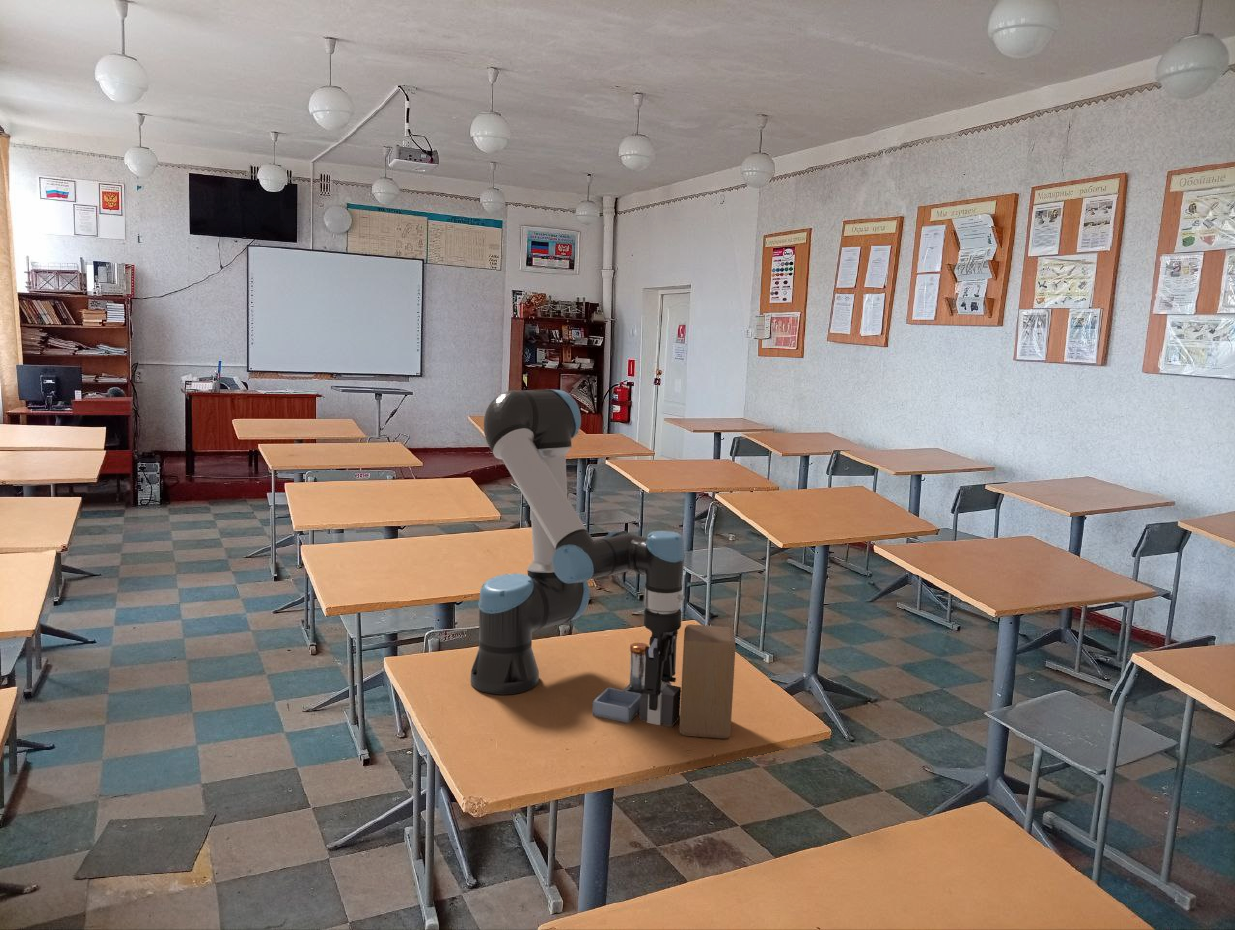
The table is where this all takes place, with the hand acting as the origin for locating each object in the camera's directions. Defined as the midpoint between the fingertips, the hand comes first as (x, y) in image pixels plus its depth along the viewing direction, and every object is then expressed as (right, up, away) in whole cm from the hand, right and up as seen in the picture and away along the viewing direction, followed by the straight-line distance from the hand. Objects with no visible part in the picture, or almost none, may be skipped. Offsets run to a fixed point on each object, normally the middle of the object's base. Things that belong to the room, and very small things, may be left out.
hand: (658, 717), depth 178 cm
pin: (-4, +1, +9) cm, 10 cm away
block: (+9, -1, -3) cm, 10 cm away
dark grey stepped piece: (0, 0, 0) cm, 0 cm away
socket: (-4, +1, +9) cm, 10 cm away
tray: (-8, +1, +2) cm, 9 cm away
